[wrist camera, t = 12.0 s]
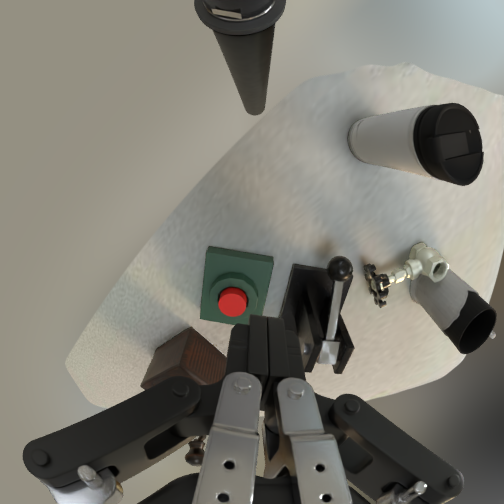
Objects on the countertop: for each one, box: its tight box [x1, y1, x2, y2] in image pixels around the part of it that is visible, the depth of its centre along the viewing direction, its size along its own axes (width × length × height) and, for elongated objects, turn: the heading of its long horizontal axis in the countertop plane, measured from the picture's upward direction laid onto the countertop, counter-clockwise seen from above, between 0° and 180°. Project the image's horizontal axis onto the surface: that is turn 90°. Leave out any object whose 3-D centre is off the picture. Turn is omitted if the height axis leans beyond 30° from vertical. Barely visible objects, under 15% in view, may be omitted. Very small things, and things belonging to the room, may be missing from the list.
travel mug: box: [348, 103, 484, 186], centre depth 22 cm, size 6×7×20 cm
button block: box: [200, 246, 274, 325], centre depth 38 cm, size 11×9×4 cm
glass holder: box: [410, 268, 497, 354], centre depth 32 cm, size 9×14×15 cm, turn 67°
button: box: [218, 287, 247, 317], centre depth 36 cm, size 4×4×2 cm
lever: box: [316, 256, 353, 365], centre depth 31 cm, size 13×3×3 cm, turn 169°
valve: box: [364, 243, 449, 308], centre depth 35 cm, size 7×7×12 cm
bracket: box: [279, 264, 354, 374], centre depth 35 cm, size 12×9×13 cm
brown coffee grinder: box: [141, 327, 227, 466], centre depth 38 cm, size 16×11×18 cm
